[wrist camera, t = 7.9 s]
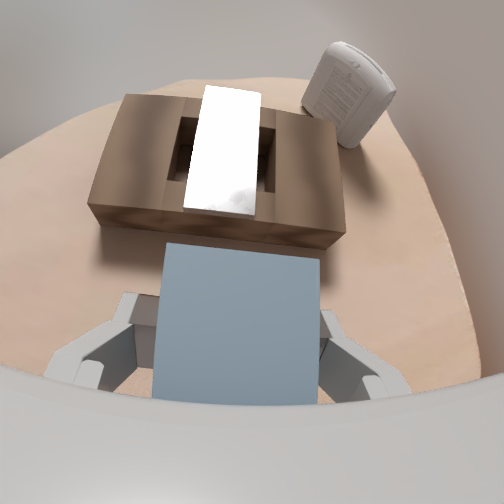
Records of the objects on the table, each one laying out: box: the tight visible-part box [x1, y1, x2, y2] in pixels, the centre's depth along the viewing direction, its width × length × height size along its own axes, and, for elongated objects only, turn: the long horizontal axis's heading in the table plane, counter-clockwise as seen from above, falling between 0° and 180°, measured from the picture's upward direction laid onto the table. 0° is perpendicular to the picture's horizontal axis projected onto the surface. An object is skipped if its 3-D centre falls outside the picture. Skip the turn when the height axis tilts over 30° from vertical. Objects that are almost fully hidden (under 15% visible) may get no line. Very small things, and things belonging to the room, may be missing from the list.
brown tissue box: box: [87, 94, 346, 250], centre depth 32 cm, size 24×14×5 cm, turn 87°
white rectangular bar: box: [183, 86, 261, 220], centre depth 30 cm, size 6×15×4 cm, turn 177°
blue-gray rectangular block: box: [152, 243, 320, 406], centre depth 11 cm, size 5×5×8 cm
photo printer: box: [301, 41, 396, 149], centre depth 34 cm, size 10×4×12 cm, turn 38°
